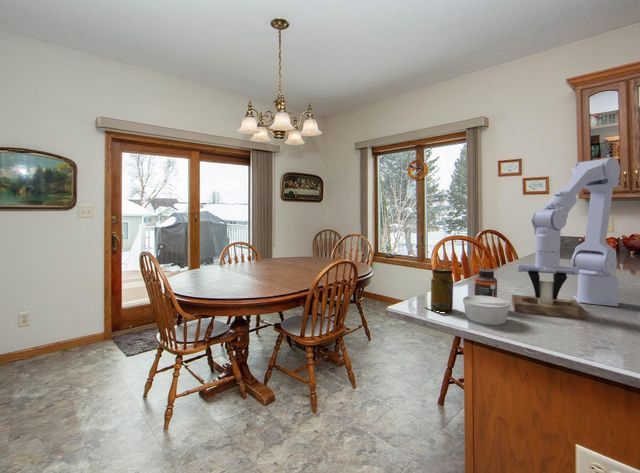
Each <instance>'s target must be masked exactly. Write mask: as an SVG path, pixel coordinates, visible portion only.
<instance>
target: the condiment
mask: <svg viewBox="0 0 640 473" xmlns="http://www.w3.org/2000/svg"><path fill="white" fill-rule="evenodd" d="M430 281H431V282H430V307H431V309H432V310H435V311H433V312H435V313H437V312H436V311H439V313H437V314H440V315H442V316H450V315H458V314H465V311H464V312H463V311H461V310H458V309H455V308H453V307H454V306H453V305H454V280H453V270H452V269H449V268H441V267H438V268H437V267H436V268H434V269H432V278H431V280H430ZM440 312H445V313H440Z"/></svg>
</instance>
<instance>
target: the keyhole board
mask: <svg viewBox="0 0 640 473" xmlns="http://www.w3.org/2000/svg"><path fill="white" fill-rule="evenodd" d="M511 306H512V308H513V311H514V312H516V313H521V314H522V313H524V314H532V315H541V316H550V317H551V316H552V317H560V318H570V319H578V320H580V319H581V320H586V310H585V308H583V307H582V306H581V305H580V304H579V302H578V301H577V300H576V299H563V298H557V300H556V299H553V305H552V304H538V298H536V297H535V296H532V295H531V296H530V295H519V294H511Z"/></svg>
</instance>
